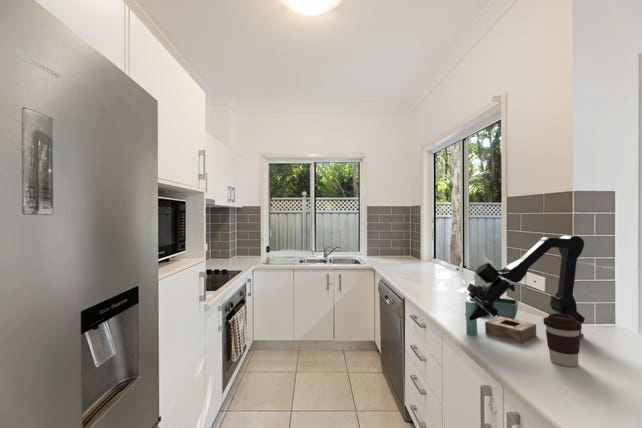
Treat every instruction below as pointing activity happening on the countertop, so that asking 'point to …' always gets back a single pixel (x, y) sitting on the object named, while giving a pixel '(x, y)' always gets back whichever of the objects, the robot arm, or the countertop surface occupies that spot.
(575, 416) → the countertop surface
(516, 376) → the countertop surface
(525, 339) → the brown wooden box
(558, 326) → the coffee cup
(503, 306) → the flower pot
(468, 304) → the dowel
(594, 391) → the countertop surface
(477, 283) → the candy bar box
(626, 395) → the countertop surface
